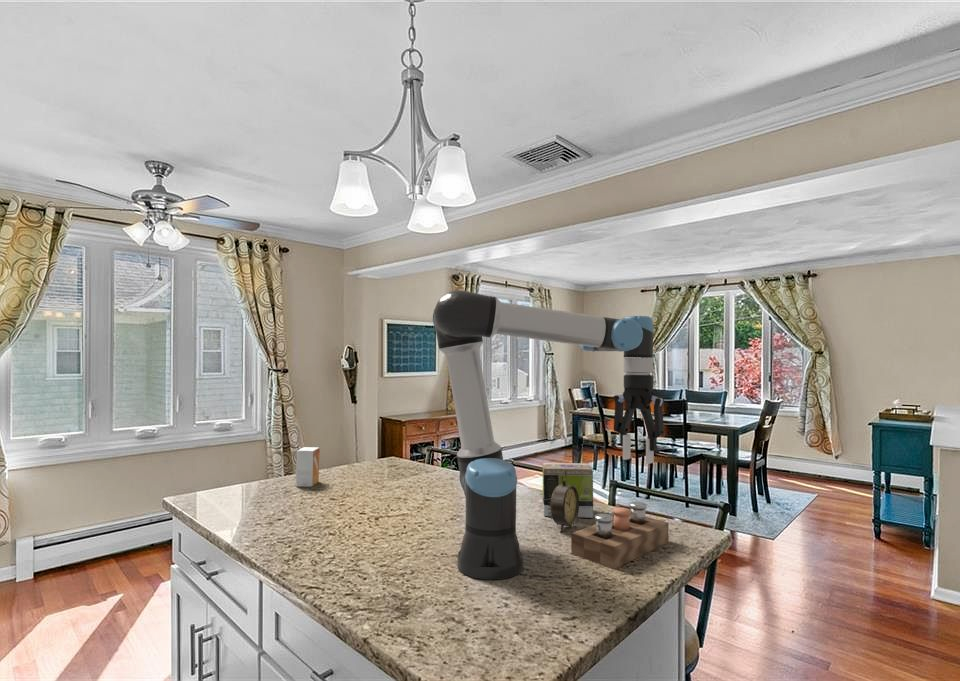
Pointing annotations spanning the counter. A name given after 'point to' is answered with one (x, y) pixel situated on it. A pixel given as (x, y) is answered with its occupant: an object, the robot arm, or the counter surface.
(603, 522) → the grey plug near
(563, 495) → the alarm clock
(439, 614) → the counter surface
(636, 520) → the grey plug far
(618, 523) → the terracotta plug
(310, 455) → the small box
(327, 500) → the counter surface
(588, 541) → the walnut block
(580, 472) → the tea box
